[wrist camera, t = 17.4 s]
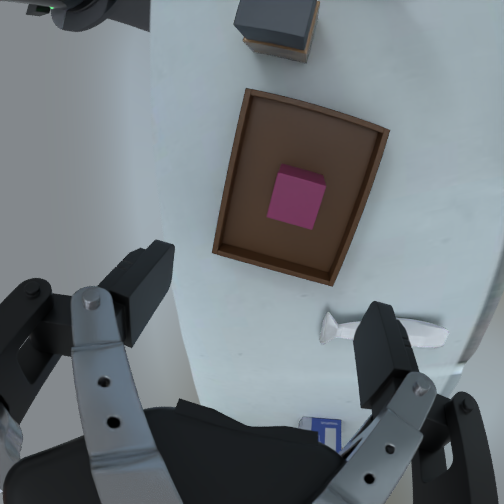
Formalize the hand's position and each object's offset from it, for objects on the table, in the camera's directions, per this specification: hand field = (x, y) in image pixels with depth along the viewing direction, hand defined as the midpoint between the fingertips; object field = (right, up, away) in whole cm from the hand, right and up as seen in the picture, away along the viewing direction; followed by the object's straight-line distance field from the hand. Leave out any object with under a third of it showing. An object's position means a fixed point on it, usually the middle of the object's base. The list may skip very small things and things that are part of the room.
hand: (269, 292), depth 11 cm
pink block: (+4, +8, +20) cm, 22 cm away
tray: (+4, +8, +20) cm, 22 cm away
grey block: (+2, +21, +8) cm, 22 cm away
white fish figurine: (+17, -8, +26) cm, 33 cm away
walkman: (+13, -31, +39) cm, 52 cm away
